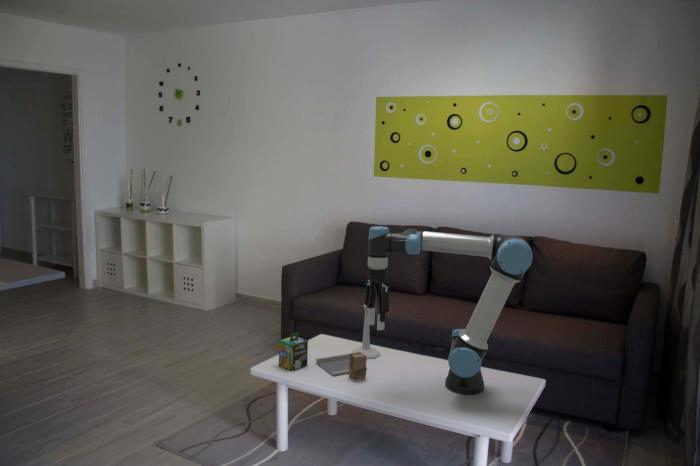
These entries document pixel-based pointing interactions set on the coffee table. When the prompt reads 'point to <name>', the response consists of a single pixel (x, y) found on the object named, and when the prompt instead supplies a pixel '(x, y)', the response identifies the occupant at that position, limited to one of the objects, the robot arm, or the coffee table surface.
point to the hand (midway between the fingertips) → (375, 327)
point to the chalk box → (293, 352)
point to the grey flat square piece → (335, 364)
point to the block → (357, 366)
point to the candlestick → (367, 340)
